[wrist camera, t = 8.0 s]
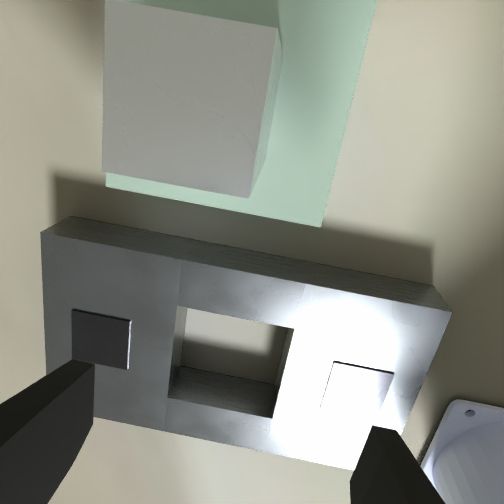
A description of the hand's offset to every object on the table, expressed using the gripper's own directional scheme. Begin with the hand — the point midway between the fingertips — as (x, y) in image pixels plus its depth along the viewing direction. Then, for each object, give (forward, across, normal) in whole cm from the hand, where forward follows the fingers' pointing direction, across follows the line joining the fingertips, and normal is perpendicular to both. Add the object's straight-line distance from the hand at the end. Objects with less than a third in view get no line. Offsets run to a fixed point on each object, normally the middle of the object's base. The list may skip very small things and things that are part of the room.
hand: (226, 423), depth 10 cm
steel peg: (+9, +3, -7) cm, 12 cm away
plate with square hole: (+10, +1, +4) cm, 11 cm away
